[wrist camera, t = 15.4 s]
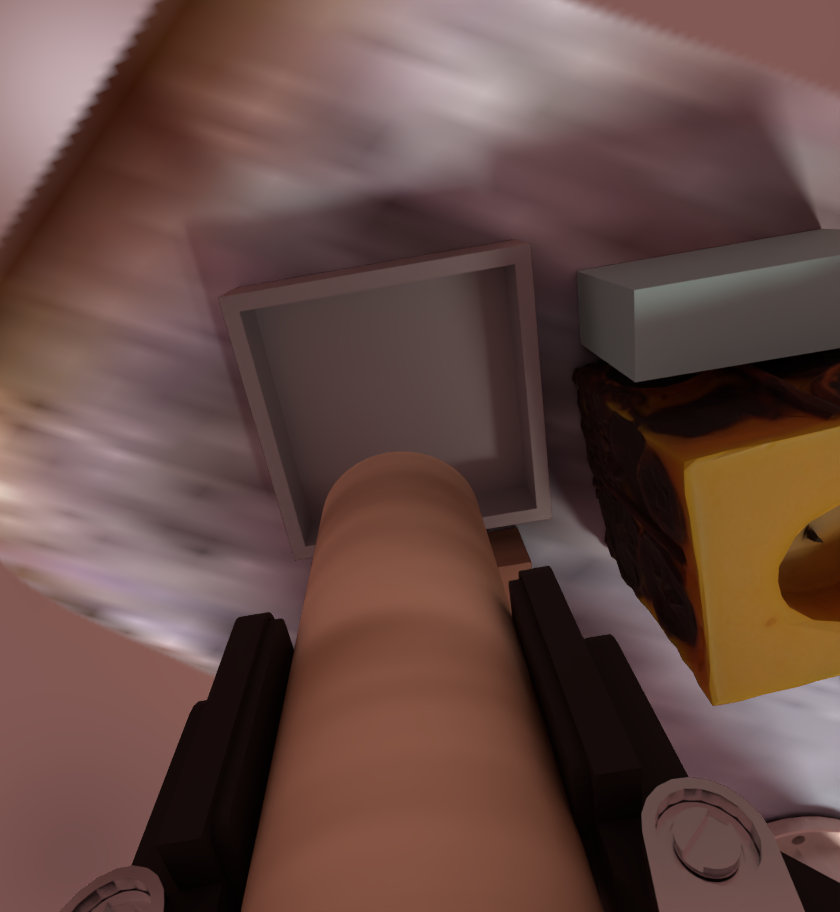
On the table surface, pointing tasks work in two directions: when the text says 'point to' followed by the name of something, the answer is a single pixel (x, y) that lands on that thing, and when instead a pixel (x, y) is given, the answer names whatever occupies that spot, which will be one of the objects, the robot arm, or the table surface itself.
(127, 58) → the table surface
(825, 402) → the candle
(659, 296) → the block
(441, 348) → the tray
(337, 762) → the dowel
